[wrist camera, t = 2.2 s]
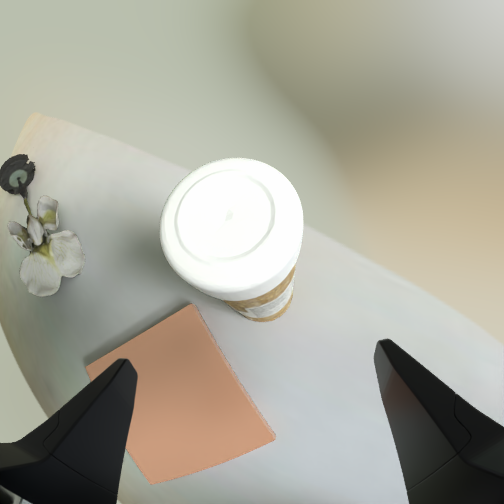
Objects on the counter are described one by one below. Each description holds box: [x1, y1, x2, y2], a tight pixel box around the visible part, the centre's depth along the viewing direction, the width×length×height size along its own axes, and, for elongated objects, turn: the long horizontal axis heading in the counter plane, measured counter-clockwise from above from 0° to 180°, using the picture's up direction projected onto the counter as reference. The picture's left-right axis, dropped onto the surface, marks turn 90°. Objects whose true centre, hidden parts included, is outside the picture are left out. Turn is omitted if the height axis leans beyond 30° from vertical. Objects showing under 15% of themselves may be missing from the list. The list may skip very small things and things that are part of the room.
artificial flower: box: [0, 154, 85, 297], centre depth 23 cm, size 9×22×10 cm, turn 42°
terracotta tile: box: [85, 304, 276, 485], centre depth 18 cm, size 12×12×1 cm
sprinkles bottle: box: [159, 158, 303, 322], centre depth 14 cm, size 5×5×13 cm
